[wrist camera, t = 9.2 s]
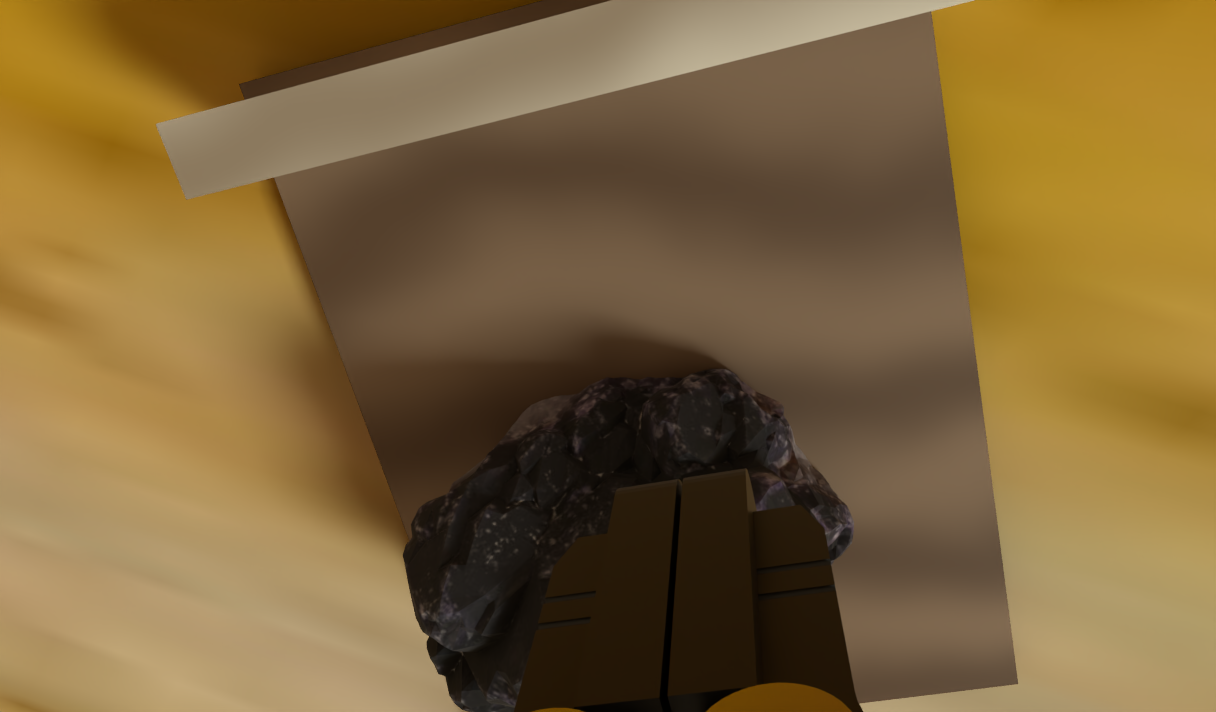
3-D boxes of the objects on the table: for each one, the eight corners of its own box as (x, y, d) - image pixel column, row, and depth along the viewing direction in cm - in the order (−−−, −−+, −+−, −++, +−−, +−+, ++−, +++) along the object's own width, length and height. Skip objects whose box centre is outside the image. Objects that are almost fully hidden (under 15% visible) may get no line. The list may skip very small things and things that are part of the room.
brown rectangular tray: (1010, 665, 35) (1065, 796, 29) (492, 730, 38) (454, 857, 33) (908, -100, 26) (961, -121, 20) (253, 80, 30) (147, 104, 24)
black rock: (918, 520, 34) (1001, 682, 24) (651, 745, 37) (631, 966, 27) (646, 257, 32) (619, 317, 23) (395, 515, 36) (280, 661, 26)
